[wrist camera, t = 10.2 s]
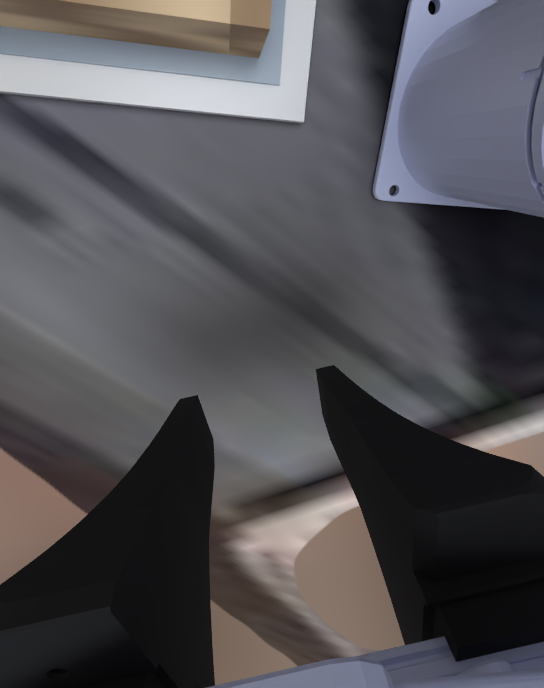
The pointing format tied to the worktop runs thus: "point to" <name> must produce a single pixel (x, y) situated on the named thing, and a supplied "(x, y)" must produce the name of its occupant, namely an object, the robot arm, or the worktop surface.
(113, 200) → the worktop surface
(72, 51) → the post stand
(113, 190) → the worktop surface
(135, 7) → the wood collar
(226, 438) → the worktop surface
